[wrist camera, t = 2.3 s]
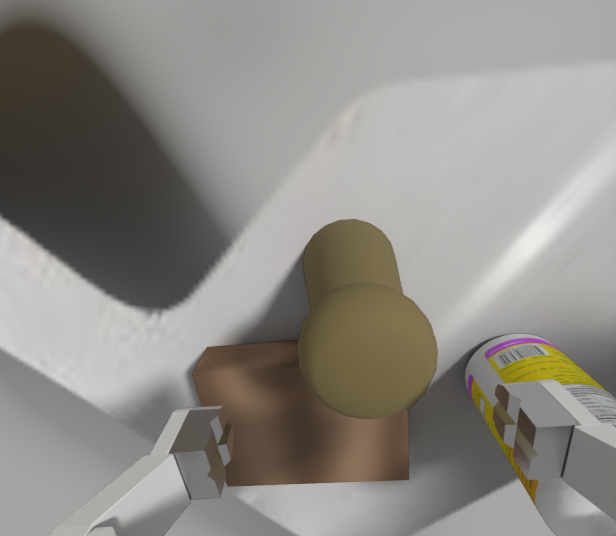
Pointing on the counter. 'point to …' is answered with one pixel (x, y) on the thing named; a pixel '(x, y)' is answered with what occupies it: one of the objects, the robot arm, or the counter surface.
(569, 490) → the supplement bottle
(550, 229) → the counter surface
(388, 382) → the cork
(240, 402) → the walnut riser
